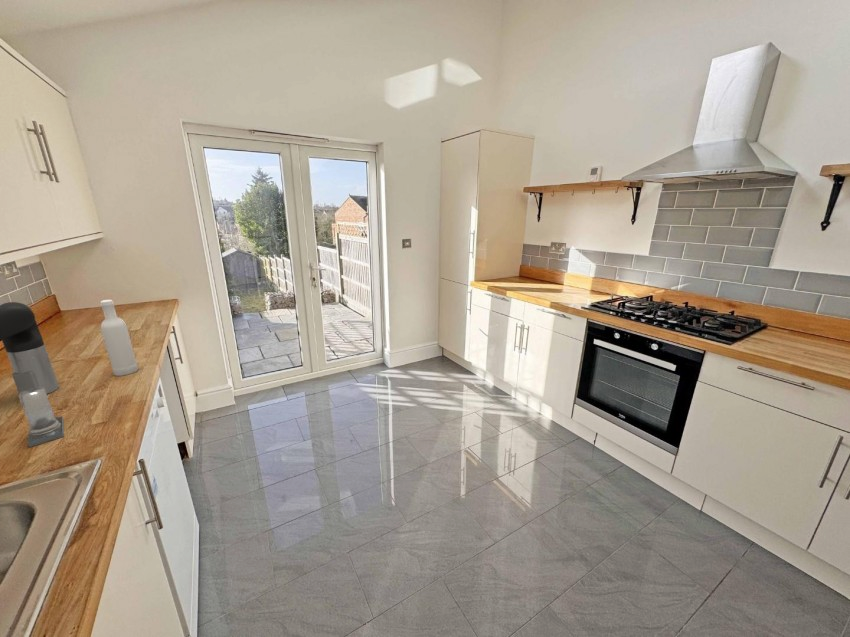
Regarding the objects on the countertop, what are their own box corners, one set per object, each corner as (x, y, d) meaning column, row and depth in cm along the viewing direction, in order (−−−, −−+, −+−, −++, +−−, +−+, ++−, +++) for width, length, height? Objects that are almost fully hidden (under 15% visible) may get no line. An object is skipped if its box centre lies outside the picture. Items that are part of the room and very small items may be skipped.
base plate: (63, 436, 106) (62, 431, 105) (29, 447, 101) (27, 442, 100) (63, 420, 114) (62, 415, 113) (31, 429, 109) (29, 424, 109)
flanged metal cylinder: (47, 433, 104) (33, 396, 101) (24, 435, 104) (9, 397, 100) (64, 421, 110) (52, 386, 106) (43, 423, 109) (29, 387, 106)
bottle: (142, 370, 149) (123, 299, 140) (119, 377, 142) (97, 304, 133) (133, 366, 153) (114, 297, 144) (110, 373, 146) (89, 301, 137)
